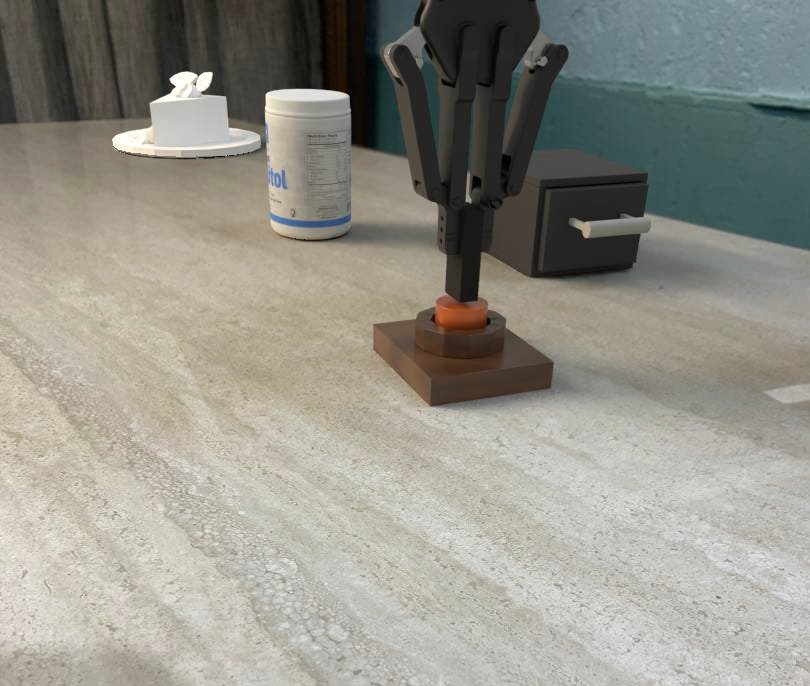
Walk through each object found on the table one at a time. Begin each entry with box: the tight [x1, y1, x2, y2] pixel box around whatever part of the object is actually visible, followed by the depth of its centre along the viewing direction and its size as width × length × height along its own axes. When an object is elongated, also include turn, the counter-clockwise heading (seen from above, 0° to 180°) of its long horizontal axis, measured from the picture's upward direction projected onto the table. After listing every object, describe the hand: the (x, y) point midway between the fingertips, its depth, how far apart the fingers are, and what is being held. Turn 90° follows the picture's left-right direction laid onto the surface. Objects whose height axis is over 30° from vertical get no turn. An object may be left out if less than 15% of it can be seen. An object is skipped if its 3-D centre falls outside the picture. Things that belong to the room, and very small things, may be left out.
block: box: [372, 306, 555, 408], centre depth 68 cm, size 12×10×4 cm
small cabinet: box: [486, 147, 649, 279], centre depth 94 cm, size 15×13×10 cm
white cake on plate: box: [112, 71, 262, 157], centre depth 147 cm, size 25×25×11 cm
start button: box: [434, 294, 489, 330], centre depth 66 cm, size 4×4×2 cm
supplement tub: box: [264, 88, 352, 241], centre depth 99 cm, size 10×10×15 cm
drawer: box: [537, 182, 652, 272], centre depth 91 cm, size 18×11×8 cm, turn 22°
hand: (461, 296), depth 65 cm, fingers closed
